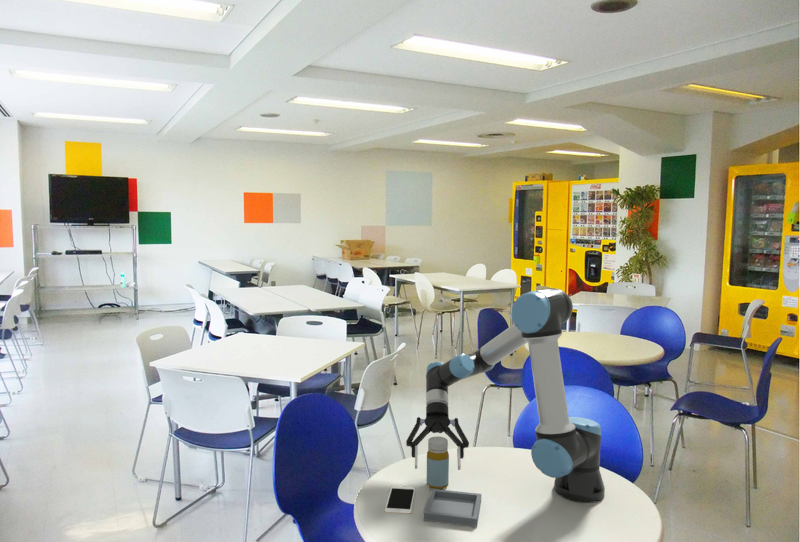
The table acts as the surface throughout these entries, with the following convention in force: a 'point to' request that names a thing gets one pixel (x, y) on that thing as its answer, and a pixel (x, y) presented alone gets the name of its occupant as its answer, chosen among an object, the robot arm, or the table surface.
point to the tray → (453, 507)
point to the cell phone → (400, 500)
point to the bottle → (437, 463)
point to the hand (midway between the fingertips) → (437, 467)
